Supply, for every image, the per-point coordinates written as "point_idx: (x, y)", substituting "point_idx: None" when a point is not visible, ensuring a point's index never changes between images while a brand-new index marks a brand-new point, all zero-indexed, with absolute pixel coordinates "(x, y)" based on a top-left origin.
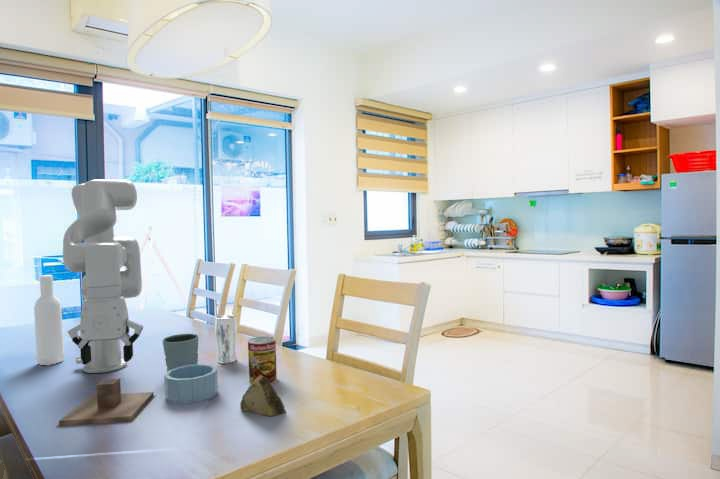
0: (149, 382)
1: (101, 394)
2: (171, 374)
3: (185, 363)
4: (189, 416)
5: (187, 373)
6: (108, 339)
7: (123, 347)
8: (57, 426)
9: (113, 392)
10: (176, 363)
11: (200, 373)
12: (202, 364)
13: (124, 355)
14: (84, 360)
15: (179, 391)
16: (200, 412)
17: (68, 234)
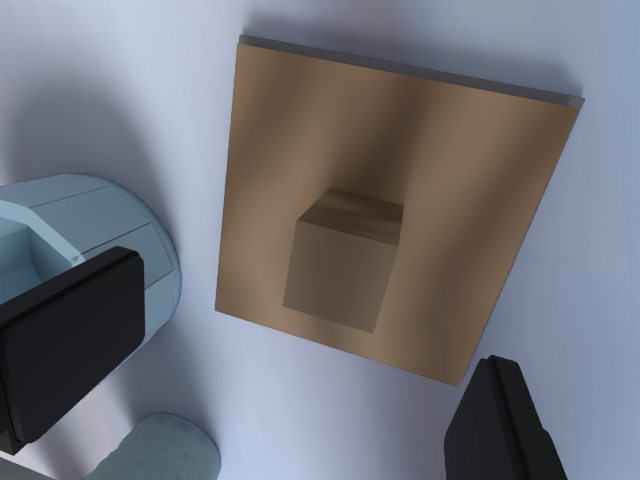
0: (273, 452)
1: (377, 221)
2: None
3: (116, 462)
4: (53, 40)
5: None
6: (4, 469)
7: (10, 328)
8: (576, 103)
9: (313, 206)
10: (141, 472)
11: None
12: None
13: (89, 274)
14: (503, 382)
15: (73, 193)
16: (28, 70)
17: None
